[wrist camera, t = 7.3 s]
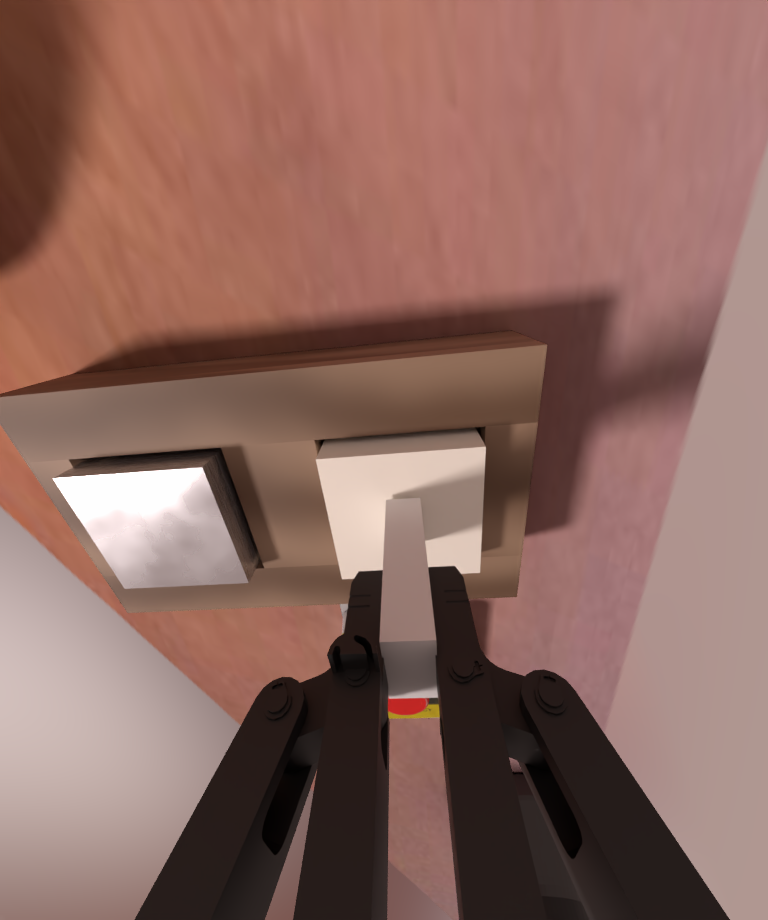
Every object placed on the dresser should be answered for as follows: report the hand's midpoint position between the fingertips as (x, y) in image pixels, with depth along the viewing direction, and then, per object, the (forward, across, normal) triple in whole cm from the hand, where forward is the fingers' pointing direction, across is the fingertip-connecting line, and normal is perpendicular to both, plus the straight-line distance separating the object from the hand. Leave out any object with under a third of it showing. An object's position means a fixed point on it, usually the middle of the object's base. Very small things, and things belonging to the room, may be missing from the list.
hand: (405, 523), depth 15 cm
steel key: (+4, +12, 0) cm, 13 cm away
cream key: (+4, 0, 0) cm, 4 cm away
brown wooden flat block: (+6, +6, 0) cm, 9 cm away
